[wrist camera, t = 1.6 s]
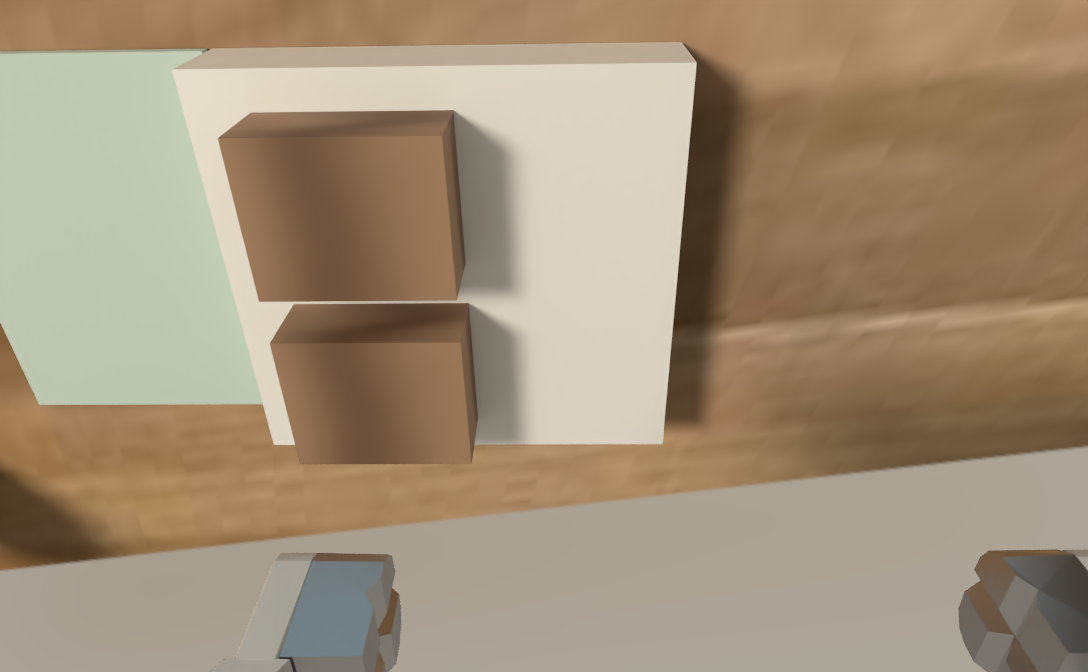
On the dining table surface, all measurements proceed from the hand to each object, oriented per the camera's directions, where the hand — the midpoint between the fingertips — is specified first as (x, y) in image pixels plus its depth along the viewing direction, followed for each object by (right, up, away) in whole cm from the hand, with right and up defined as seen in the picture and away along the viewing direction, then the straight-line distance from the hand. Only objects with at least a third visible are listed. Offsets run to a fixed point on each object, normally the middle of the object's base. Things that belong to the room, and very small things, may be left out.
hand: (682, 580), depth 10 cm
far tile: (-7, +2, +16) cm, 18 cm away
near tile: (-8, +8, +13) cm, 17 cm away
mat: (-18, +7, +17) cm, 26 cm away
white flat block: (-5, +7, +17) cm, 19 cm away
